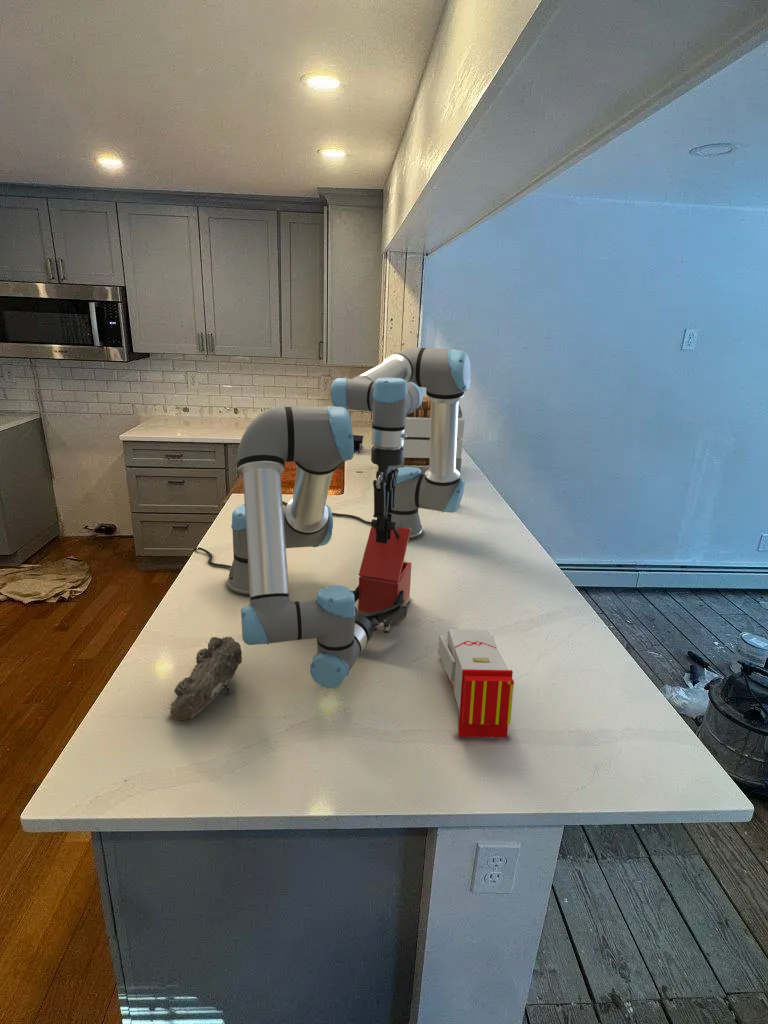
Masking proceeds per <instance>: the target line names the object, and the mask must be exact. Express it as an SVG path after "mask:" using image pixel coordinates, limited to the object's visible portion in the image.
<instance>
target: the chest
mask: <svg viewBox="0 0 768 1024" xmlns="http://www.w3.org/2000/svg"><path fill="white" fill-rule="evenodd" d="M411 578H412V562H409V561H404V562H403V566H402V571H401V575H400V579H399V583H395V582H390V581H384V580H378V579H372V578H367V577H361V576H359V578H358V585H359V599H358V600H357V601H358V602H357V603H358V604H357V605H358V606H357V610H358V611H363V612H366V613H371V612H374V611H381V610H383V609H385V608H388V607H390V606H393V605H394V601H395V599H396V598H397V596H398V595H399V593H400V591H404V595H403V600H404V606H406V607H407V604H408V603H409V601H410V598H411V596H410V595H411V594H410V593H411Z"/></svg>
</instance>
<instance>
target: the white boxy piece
mask: <svg viewBox="0 0 768 1024" xmlns="http://www.w3.org/2000/svg"><path fill="white" fill-rule="evenodd" d="M422 397H423V399H422V403H421V405H420V406H419V408H418V409H416V410H415V411H414V412H413V413H410V414H407V415H406V417H405V431H404V434H406V435H407V437H406V438H404V445H403V446H402V448H403V449H404V453H403V463H402V464H401V465H398V466H395V469H397V468H402V467H405V466H406V467H417V466H418V467H430V422H431V399H430V398H429V397H428V396H422ZM464 429H465V419H464V418H463V411H462V408H461V405H460V404H459V406H458V427H457V448H456V469H457V470H458V471H459V473H460V475H461V472H462V461H463V460H462V453H463V442H464V441H463V440H462V439H463V438H464V431H465V430H464Z"/></svg>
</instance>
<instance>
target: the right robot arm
mask: <svg viewBox="0 0 768 1024" xmlns="http://www.w3.org/2000/svg"><path fill="white" fill-rule="evenodd" d="M471 368H472V367H471V361H470V357H469V355H468V353H466V352H465V351H463V350H458V349H453V348H436V347H435V348H434V347H433V348H432V347H421V346H420V347H411V348H406V349H402V350H400V351H396V352H394V353H392V354H389V355H388V356H386V357H385V358H384V359H383V361H382V362H381V363H380V364H378V365H376V366H374V367H372V368H370V369H368V370H366V371H365V372H363V373H361V374H359V375H356V376H354V377H353V378H350V377H349V378H348V377H337V378H335V379H334V380H333V382H332V383H331V386H330V402H331V404H332V406H333V407H343V408H345V409H347V410H351V411H352V410H353V411H361V412H372V425H371V426H372V427H371V441H370V443H371V445H372V447H371V453H370V455H371V456H370V461H371V463H372V464H373V465H377V471H376V472H375V478H376V479H373V481H372V486H373V515H372V517H373V518H374V519H376V520H377V529H376V542H380V543H386V544H387V540H390V537H391V530H390V529H388V521H389V522H396V523H397V527H402V528H409V529H411V532H410V536H409V541H410V540H415V539H418V538H420V537H421V536H422V535H423V525H422V524H421V518H420V515H419V509H424V510H430V511H435V512H436V511H437V512H441V513H450V514H453V513H456V512H457V511H458V509H459V508H460V505H461V502H462V499H463V495H464V493H465V492H464V491H465V486H466V481H465V479H462V478H461V474H460V473H459V471H458V470H457V469H456V448H457V427H458V406H459V405H460V399H462V398H464V396H465V393H466V392H467V391H469V389H470V386H471V379H472V369H471ZM421 388H425V395H426V397H429V398H430V399H431V422H430V466H429V468H428V469H426V470H425V471H424V473H422V469H421V468H419V467H417V466H404V467H402V468H397V469H395V466H398V465H401V464H402V463H403V453H404V449H403V448H402V446H403V445H404V438H406V437H407V435H406V434H404V431H405V417H406V415H407V414H410V413H413V412H414V411H415V410H416V409H418V408H419V406H420V405H421V403H422V399H423V397H424V396H423V392H422V390H421ZM282 503H283V505H285V506H287V504H288V503H289V502H286V501H283V500H282ZM332 516H334V517H335V516H336V517H345V518H352V519H356V520H358V521H360V522H362V523H363V524H367V525H371V521H368V520H365V519H363V518H361V517H359V516H356V515H353V514H348V513H347V514H346V513H337V512H332Z"/></svg>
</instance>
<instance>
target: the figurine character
mask: <svg viewBox="0 0 768 1024" xmlns="http://www.w3.org/2000/svg"><path fill="white" fill-rule="evenodd" d="M363 441H364V435H360V434H359V435H357V434H353V442H354V454H355V452H358V454H360V453H361V451H362V450H363V448H364V446H363V443H364V442H363Z"/></svg>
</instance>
